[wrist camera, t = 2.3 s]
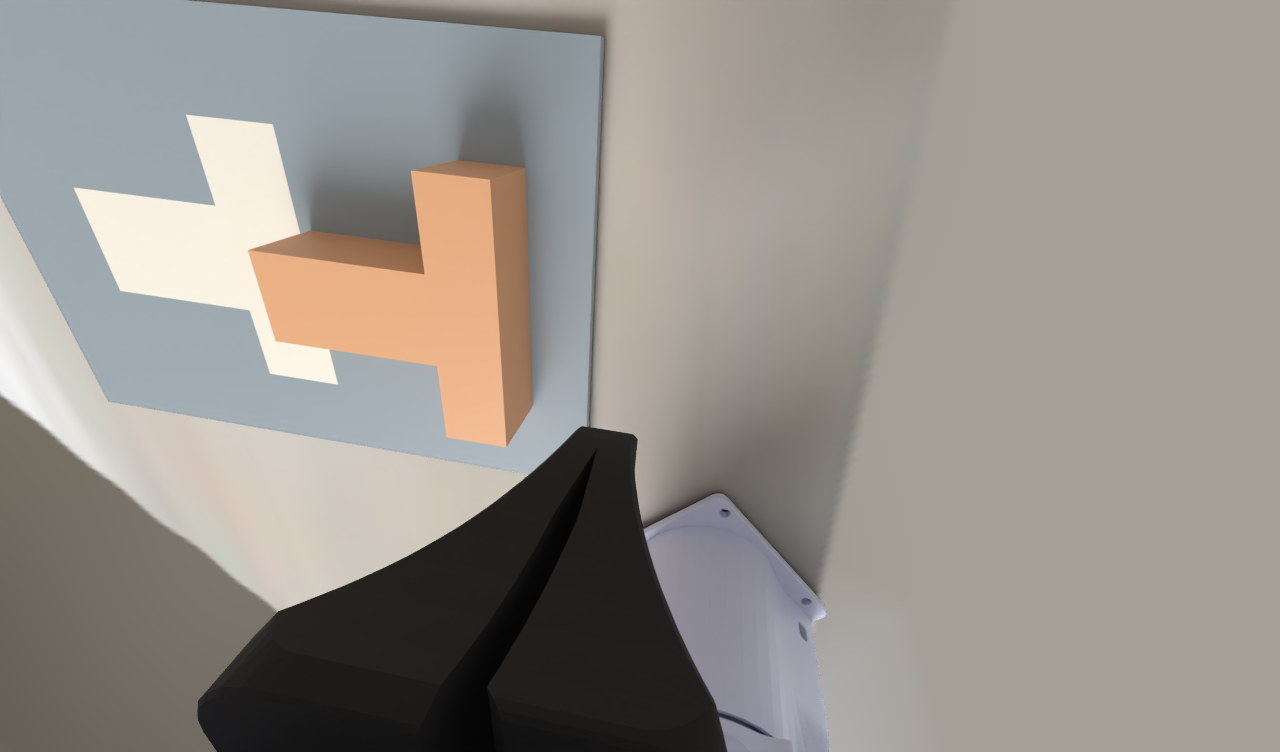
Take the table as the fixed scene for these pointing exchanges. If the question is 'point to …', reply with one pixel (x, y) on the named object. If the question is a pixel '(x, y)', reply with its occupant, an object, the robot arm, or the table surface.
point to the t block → (424, 294)
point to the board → (288, 197)
